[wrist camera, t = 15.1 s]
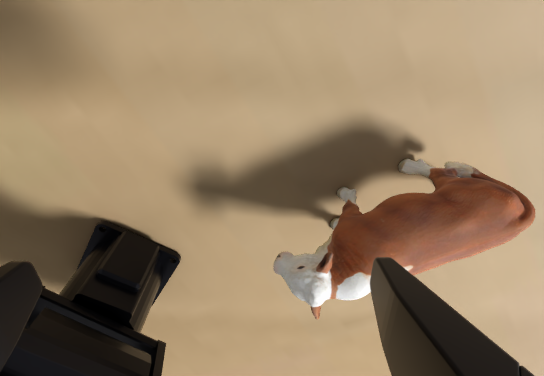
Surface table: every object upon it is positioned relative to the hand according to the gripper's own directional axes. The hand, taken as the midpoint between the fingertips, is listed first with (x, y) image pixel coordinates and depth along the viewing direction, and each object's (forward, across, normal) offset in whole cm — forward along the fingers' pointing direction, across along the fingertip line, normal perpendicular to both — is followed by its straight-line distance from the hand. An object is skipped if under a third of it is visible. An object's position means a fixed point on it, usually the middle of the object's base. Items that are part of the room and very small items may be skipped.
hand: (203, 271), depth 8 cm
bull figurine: (+13, -8, +6) cm, 17 cm away
